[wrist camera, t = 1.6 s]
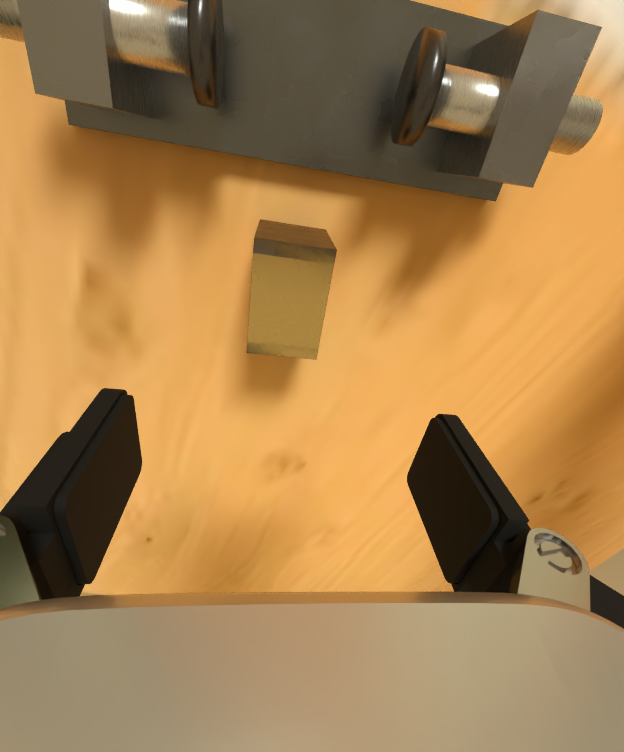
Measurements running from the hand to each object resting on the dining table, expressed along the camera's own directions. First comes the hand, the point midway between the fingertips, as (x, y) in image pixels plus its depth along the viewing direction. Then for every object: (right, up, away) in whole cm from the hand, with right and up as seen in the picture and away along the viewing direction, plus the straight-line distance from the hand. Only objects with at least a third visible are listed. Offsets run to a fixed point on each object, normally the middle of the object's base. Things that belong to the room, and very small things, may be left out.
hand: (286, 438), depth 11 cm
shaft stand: (+1, +19, +9) cm, 21 cm away
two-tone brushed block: (-1, +9, +15) cm, 17 cm away
